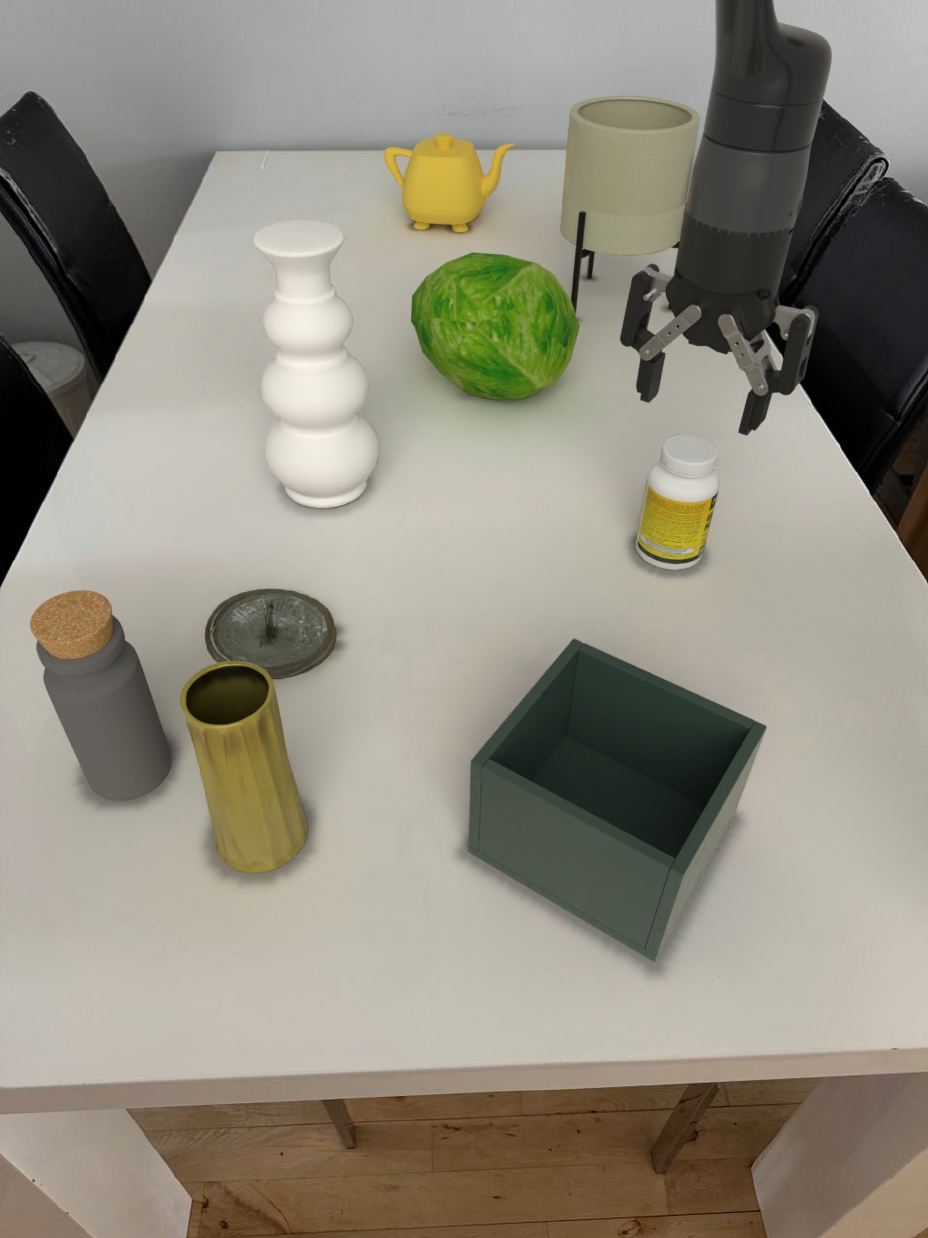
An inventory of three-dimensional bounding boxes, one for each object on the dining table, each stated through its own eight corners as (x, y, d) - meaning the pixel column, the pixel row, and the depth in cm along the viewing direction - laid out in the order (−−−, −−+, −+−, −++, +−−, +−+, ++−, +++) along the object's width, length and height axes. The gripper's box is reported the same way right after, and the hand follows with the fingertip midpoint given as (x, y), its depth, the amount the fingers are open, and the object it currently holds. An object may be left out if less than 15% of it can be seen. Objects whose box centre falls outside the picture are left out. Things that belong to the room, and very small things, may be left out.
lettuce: (611, 372, 108) (563, 236, 106) (576, 364, 89) (516, 199, 88) (484, 427, 114) (436, 299, 113) (426, 430, 96) (368, 277, 94)
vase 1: (326, 824, 62) (303, 682, 52) (263, 891, 58) (226, 751, 48) (260, 782, 64) (226, 639, 55) (196, 844, 61) (147, 702, 51)
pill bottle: (709, 572, 82) (736, 468, 74) (641, 573, 81) (661, 469, 74) (693, 529, 86) (717, 428, 79) (629, 531, 86) (646, 429, 78)
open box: (733, 817, 63) (767, 725, 56) (654, 962, 55) (683, 876, 48) (561, 731, 68) (573, 637, 61) (467, 852, 60) (470, 760, 54)
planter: (666, 334, 116) (701, 136, 100) (544, 318, 119) (558, 124, 103) (678, 286, 126) (710, 100, 111) (565, 272, 129) (581, 90, 114)
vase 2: (396, 467, 93) (385, 216, 76) (358, 530, 86) (337, 266, 68) (297, 450, 95) (264, 202, 78) (252, 510, 88) (205, 249, 70)
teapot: (507, 241, 138) (511, 152, 129) (377, 232, 140) (373, 144, 131) (516, 210, 147) (520, 125, 139) (395, 201, 149) (392, 118, 141)
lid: (196, 647, 76) (172, 613, 72) (289, 576, 79) (271, 539, 75) (267, 723, 71) (245, 691, 67) (364, 643, 74) (349, 608, 70)
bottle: (74, 763, 65) (4, 610, 55) (149, 723, 68) (96, 570, 58) (109, 816, 62) (41, 664, 52) (186, 772, 65) (137, 619, 55)
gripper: (624, 201, 63) (597, 407, 75) (826, 248, 58) (764, 463, 69) (669, 172, 68) (638, 370, 79) (860, 213, 62) (797, 421, 74)
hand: (696, 413), depth 74 cm, fingers open, 8 cm apart
